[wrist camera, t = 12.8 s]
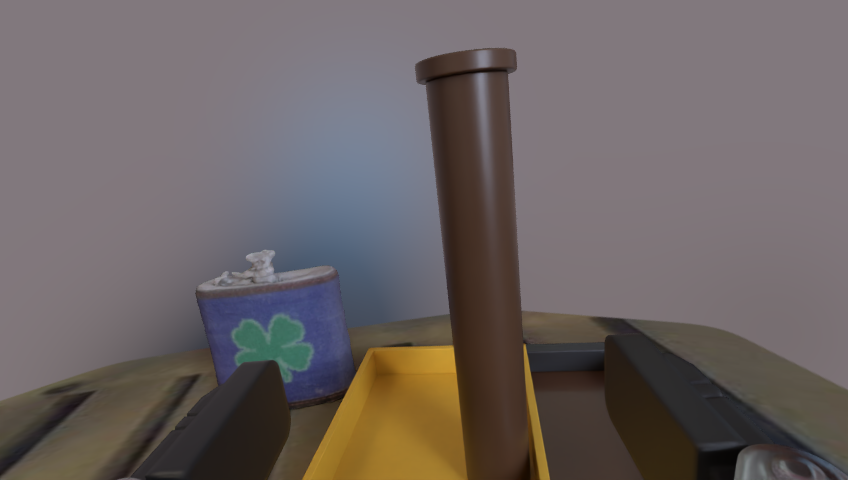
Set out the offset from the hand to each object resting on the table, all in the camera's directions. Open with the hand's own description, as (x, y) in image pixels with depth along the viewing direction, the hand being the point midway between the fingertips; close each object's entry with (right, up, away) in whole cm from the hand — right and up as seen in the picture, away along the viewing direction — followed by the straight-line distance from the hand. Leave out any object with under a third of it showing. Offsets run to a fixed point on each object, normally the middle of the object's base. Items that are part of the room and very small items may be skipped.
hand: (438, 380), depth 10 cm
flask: (-10, -8, +19) cm, 22 cm away
